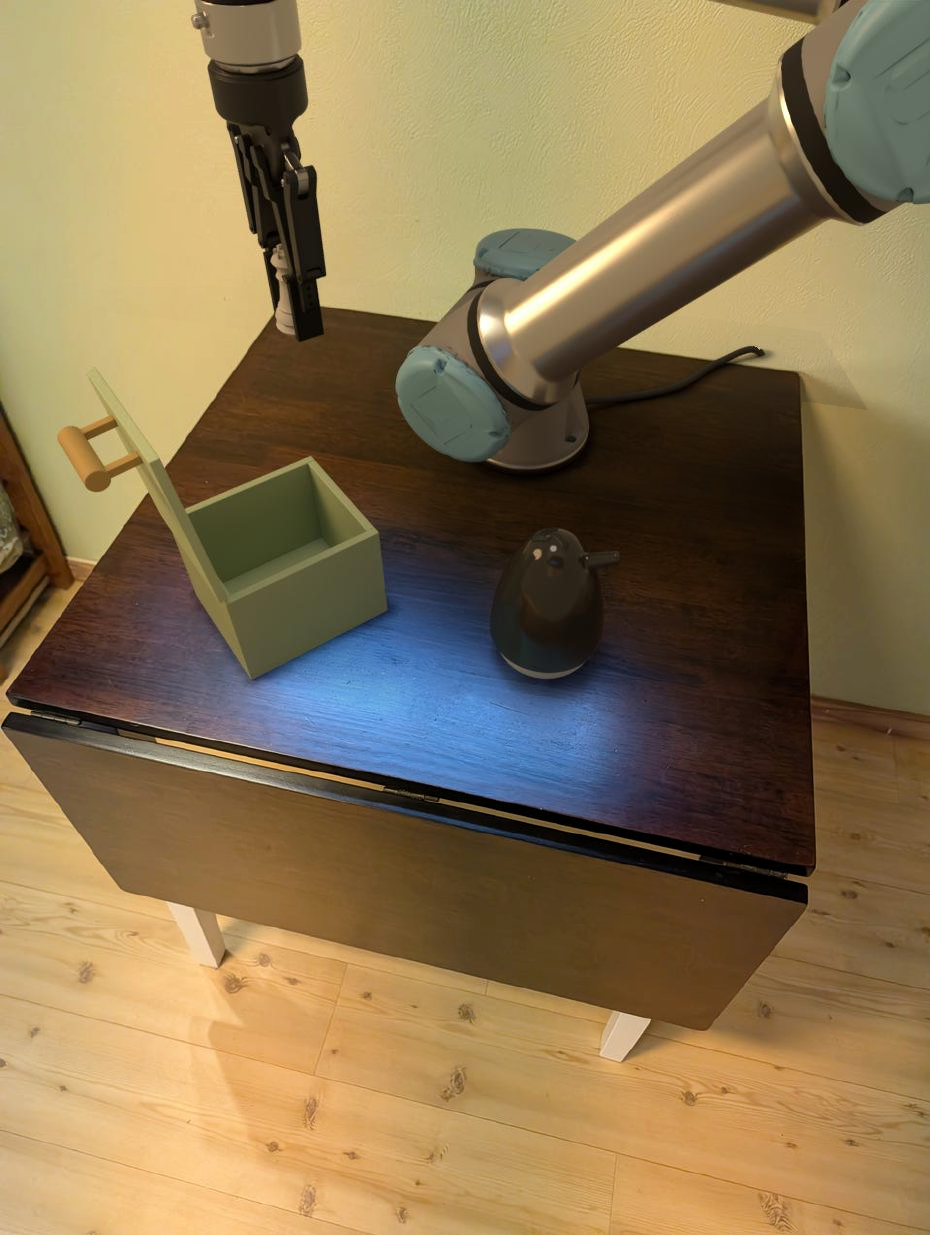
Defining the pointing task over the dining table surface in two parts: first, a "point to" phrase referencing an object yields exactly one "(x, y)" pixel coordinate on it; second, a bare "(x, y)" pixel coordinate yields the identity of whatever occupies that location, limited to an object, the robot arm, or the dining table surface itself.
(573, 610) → the pump dispenser
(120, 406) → the lid
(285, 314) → the rook chess piece
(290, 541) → the chest
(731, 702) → the dining table surface
